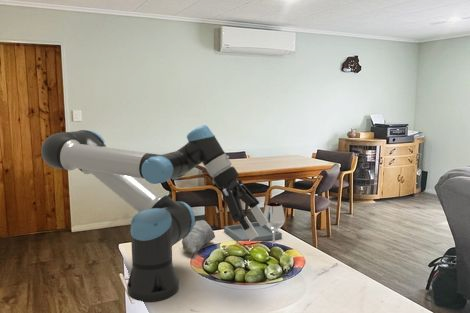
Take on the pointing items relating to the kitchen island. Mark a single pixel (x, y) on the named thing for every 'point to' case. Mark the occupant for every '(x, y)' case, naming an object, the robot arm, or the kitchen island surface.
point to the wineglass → (274, 217)
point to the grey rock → (198, 237)
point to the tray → (263, 232)
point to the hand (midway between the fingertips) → (259, 231)
